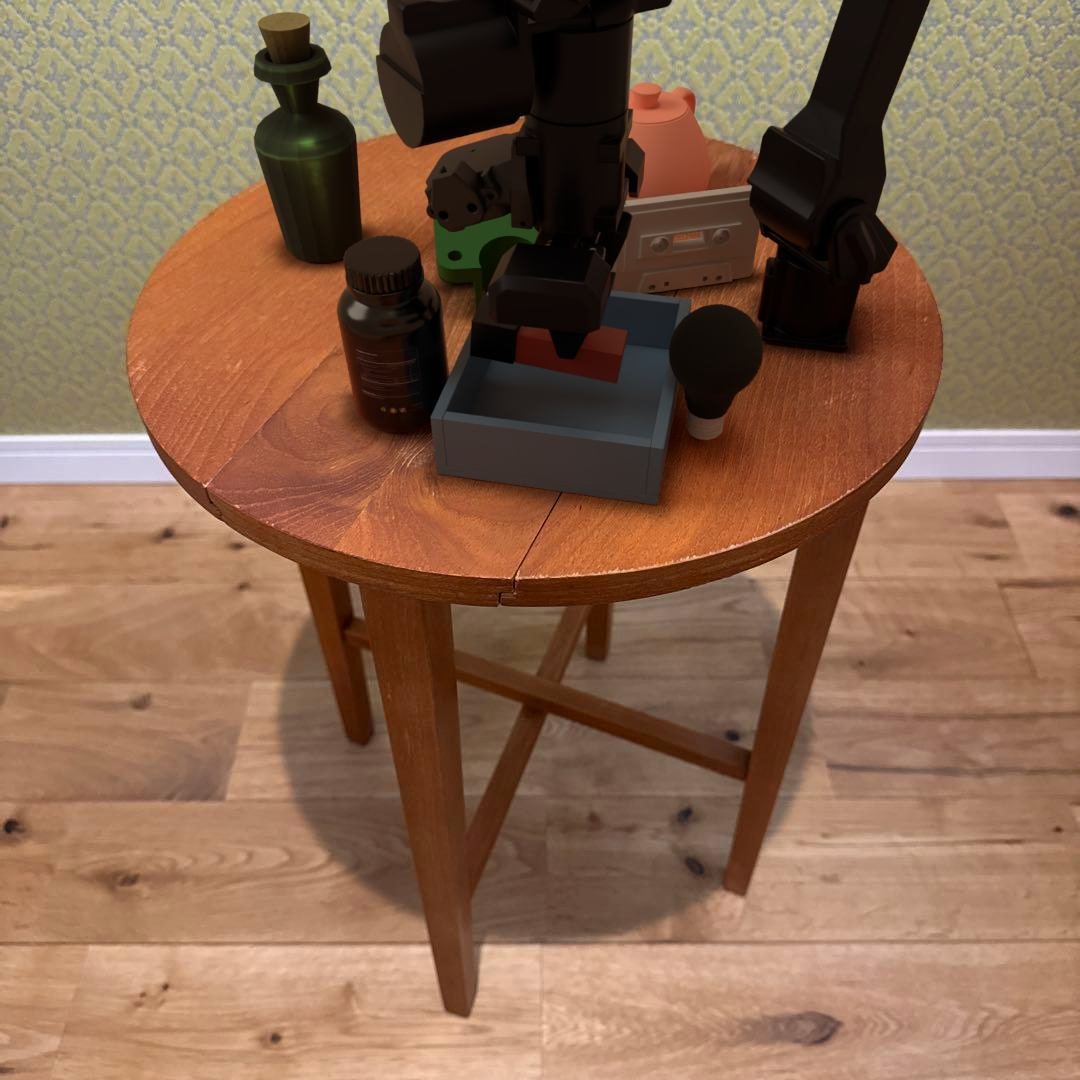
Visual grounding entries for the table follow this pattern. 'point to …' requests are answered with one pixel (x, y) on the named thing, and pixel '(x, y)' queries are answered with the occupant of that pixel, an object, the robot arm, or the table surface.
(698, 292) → the table surface
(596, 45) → the robot arm
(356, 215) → the potion bottle
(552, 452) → the bin
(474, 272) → the clamp
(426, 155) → the table surface
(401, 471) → the table surface
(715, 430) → the light bulb
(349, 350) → the supplement bottle
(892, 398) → the table surface
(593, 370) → the red bar
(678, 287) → the cassette
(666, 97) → the sugar bowl
